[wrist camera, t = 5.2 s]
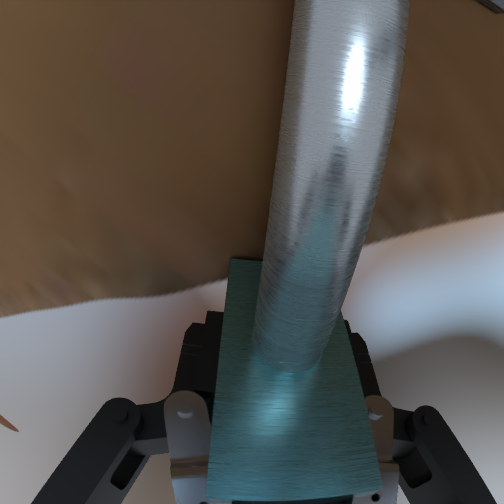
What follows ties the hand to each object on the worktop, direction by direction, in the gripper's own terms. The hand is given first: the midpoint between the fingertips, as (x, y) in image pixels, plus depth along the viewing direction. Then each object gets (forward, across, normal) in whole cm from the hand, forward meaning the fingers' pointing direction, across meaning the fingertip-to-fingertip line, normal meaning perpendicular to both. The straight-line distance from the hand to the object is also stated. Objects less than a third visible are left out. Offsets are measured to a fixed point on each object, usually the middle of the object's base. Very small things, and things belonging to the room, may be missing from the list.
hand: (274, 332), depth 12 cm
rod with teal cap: (+2, 0, -7) cm, 8 cm away
